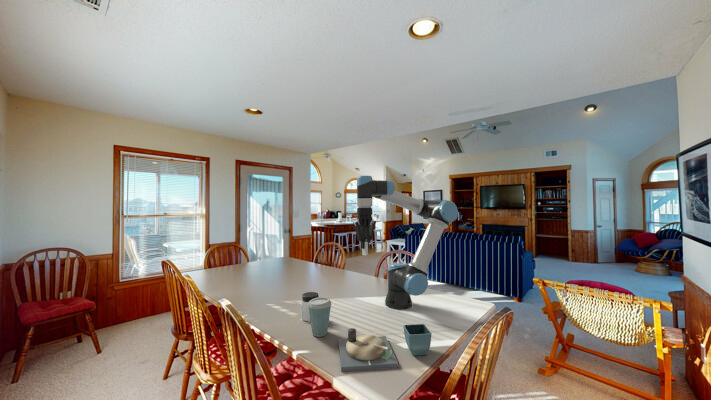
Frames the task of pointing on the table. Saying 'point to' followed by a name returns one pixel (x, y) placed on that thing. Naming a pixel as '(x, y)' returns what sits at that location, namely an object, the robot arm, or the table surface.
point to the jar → (305, 299)
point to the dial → (364, 346)
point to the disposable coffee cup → (319, 315)
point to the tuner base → (356, 364)
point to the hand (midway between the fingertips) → (364, 255)
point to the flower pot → (417, 338)
